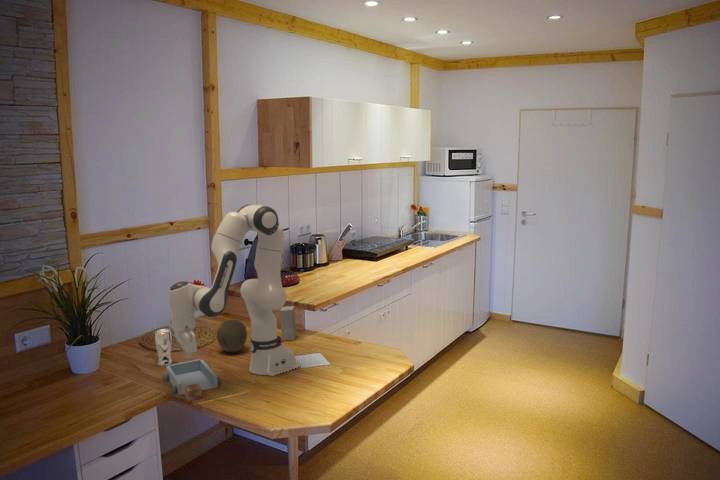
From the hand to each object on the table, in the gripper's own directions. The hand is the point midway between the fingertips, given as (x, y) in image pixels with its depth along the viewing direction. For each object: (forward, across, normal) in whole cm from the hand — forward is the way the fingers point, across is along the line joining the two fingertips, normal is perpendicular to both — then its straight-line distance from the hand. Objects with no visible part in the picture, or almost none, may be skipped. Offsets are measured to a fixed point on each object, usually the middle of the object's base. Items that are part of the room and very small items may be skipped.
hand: (187, 356), depth 226 cm
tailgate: (+13, -7, -1) cm, 15 cm away
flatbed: (+14, +5, -1) cm, 15 cm away
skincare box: (+18, +37, -58) cm, 71 cm away
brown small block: (+13, -11, +2) cm, 17 cm away
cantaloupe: (+16, +34, -28) cm, 47 cm away
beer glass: (+14, +35, +3) cm, 38 cm away
